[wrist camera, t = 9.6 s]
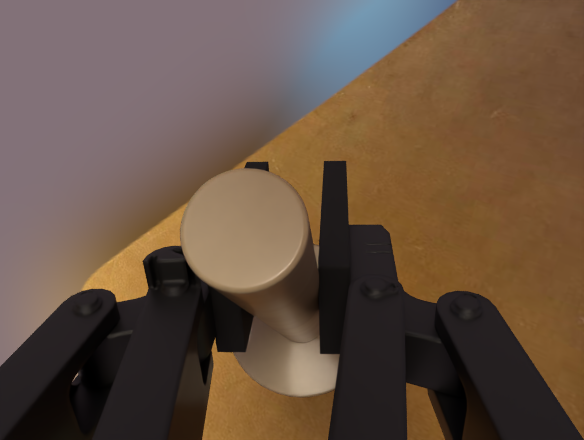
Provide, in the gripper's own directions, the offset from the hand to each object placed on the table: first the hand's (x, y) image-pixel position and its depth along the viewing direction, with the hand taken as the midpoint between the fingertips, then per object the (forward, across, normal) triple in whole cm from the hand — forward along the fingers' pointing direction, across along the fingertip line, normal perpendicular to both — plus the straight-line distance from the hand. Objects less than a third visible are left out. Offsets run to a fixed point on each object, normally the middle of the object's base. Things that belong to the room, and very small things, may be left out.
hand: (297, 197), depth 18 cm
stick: (+1, 0, -6) cm, 6 cm away
